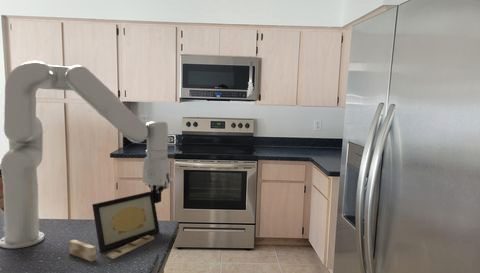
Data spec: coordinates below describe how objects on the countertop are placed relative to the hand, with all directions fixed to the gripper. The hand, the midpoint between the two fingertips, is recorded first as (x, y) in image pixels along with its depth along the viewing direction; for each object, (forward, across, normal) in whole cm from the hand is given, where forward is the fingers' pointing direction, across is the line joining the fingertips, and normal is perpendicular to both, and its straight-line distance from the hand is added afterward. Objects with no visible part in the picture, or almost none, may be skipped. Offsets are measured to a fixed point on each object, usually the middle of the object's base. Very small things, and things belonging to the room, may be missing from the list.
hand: (156, 202), depth 127 cm
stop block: (+10, -3, -30) cm, 32 cm away
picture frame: (+10, -2, -13) cm, 17 cm away
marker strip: (+10, +5, -17) cm, 21 cm away
